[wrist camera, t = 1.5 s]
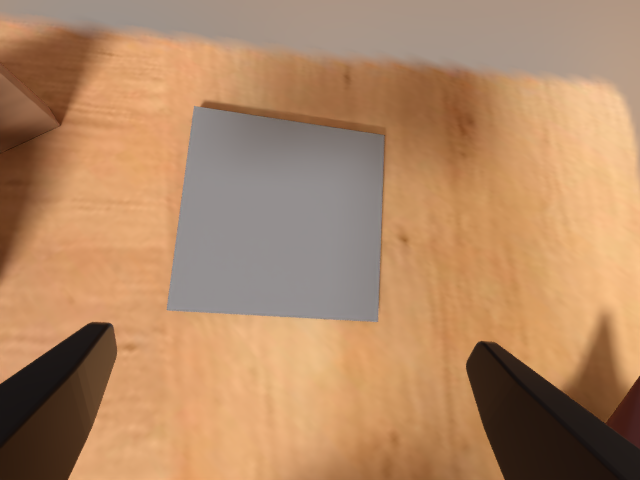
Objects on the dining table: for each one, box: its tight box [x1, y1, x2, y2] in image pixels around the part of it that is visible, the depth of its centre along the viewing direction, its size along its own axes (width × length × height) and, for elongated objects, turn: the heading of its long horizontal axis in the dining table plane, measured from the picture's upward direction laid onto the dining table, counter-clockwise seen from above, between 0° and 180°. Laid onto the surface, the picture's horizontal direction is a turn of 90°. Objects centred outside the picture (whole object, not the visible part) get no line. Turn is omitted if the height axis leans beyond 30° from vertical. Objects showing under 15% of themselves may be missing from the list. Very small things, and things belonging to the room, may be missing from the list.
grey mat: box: [167, 106, 385, 322], centre depth 23 cm, size 13×13×1 cm
